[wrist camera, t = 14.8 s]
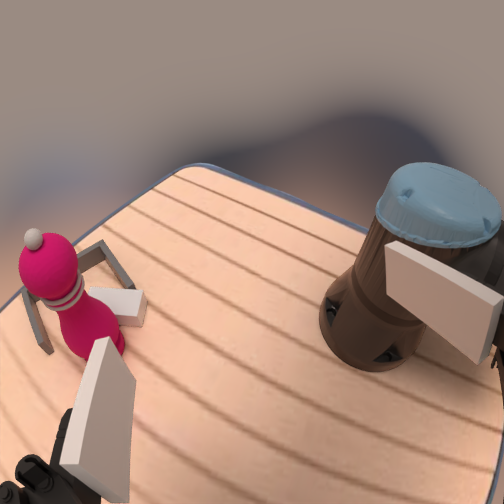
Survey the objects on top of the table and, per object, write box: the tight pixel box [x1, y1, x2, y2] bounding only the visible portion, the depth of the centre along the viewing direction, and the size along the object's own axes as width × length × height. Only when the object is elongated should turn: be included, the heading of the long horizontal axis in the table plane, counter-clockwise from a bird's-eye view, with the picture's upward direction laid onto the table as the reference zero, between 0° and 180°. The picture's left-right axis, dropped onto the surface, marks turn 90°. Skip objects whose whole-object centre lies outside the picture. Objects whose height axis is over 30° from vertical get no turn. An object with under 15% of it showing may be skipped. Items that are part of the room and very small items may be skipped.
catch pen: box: [21, 239, 136, 355], centre depth 36 cm, size 16×11×3 cm
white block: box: [88, 287, 147, 327], centre depth 36 cm, size 8×4×3 cm, turn 91°
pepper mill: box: [19, 228, 124, 362], centre depth 26 cm, size 7×7×20 cm
